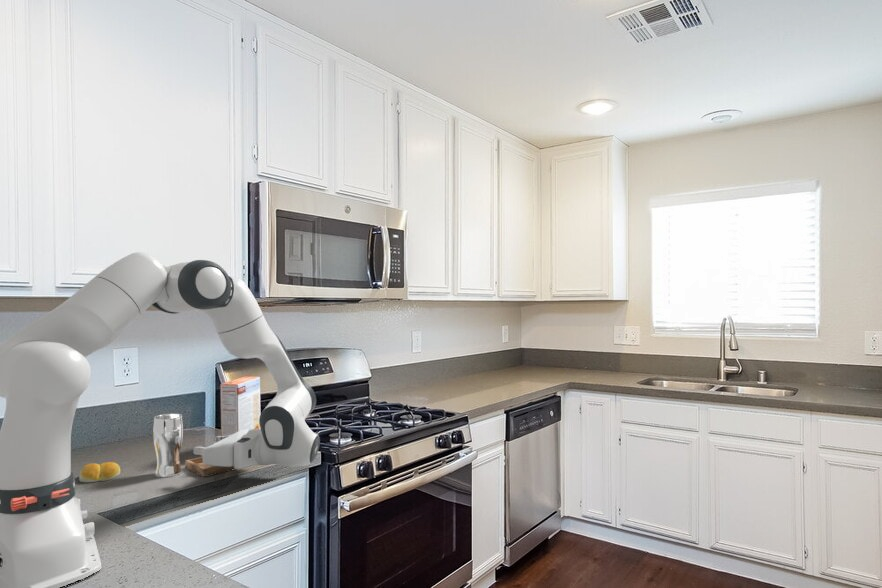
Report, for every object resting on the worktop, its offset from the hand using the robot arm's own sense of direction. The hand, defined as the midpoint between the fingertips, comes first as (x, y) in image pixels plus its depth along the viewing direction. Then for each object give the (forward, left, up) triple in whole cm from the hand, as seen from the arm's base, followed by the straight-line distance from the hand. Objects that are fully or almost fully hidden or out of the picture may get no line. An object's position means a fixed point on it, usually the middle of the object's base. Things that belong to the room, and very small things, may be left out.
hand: (205, 444), depth 145 cm
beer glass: (+9, +6, -8) cm, 13 cm away
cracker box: (+16, -18, -8) cm, 25 cm away
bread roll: (+19, +19, -8) cm, 28 cm away
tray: (+5, -4, -8) cm, 10 cm away
